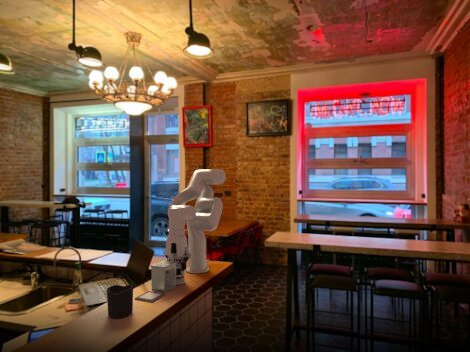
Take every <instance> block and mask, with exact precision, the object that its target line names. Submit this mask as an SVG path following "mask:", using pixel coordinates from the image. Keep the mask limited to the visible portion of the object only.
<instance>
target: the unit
mask: <svg viewBox="0 0 470 352" xmlns="http://www.w3.org/2000/svg"><path fill="white" fill-rule="evenodd" d="M176 264H177V262H173V261H167V260H165V259H164V260H162V261H161V260H160V261H158V262H155V263H153V264H150V268H151V269H150V270H151V272H150V273H151V292H152V291H154V292H157V293H158V292H159V293H163V294H165V295H166V294H167V293H168V292H170V291H171V290H174V289H176V288H177V285H176Z"/></svg>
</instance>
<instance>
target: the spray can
mask: <svg viewBox="0 0 470 352" xmlns="http://www.w3.org/2000/svg"><path fill="white" fill-rule="evenodd" d="M170 261H173V262H177V264H176V286H179V285H183V284H185V270H184V271H181V263H182V260H181V257H177V248H176V243H171V256H170Z"/></svg>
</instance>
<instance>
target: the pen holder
mask: <svg viewBox="0 0 470 352" xmlns="http://www.w3.org/2000/svg"><path fill="white" fill-rule="evenodd" d="M106 296H107V297H106V298H107V299H106V300H107V301H106V302H107V314H108V317H109V318H110V319H115V320H120V319H125V318H127V317H130V316H131V315H132V314H133V309H134V308H133V306H134V305H133V304H134V285H133V284H127V285H120V284H119V285H118V284H114V285H111V286H109V287H107V288H106Z"/></svg>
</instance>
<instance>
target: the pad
mask: <svg viewBox="0 0 470 352" xmlns="http://www.w3.org/2000/svg"><path fill="white" fill-rule="evenodd" d="M165 296H166V293H165V294H164V293H158V292H152V290H149V291H146V292H144V293H141V294H140V295H137V296H136V297H134V300H136V301H141V302H142V301H143V302H146V301H147V302H146V303H154V302H155V301H158V300H159V299H161V298H163V297H165Z"/></svg>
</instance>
